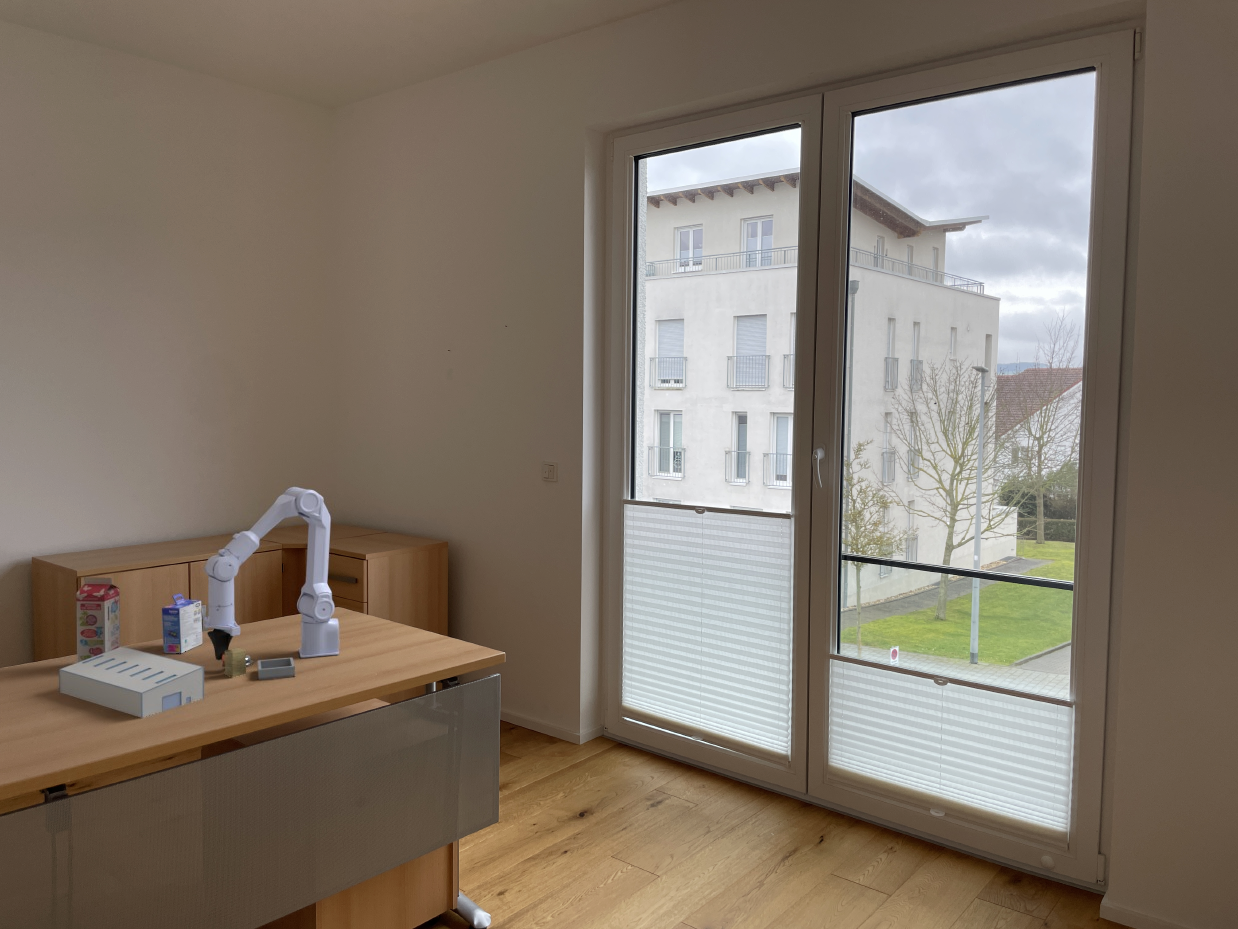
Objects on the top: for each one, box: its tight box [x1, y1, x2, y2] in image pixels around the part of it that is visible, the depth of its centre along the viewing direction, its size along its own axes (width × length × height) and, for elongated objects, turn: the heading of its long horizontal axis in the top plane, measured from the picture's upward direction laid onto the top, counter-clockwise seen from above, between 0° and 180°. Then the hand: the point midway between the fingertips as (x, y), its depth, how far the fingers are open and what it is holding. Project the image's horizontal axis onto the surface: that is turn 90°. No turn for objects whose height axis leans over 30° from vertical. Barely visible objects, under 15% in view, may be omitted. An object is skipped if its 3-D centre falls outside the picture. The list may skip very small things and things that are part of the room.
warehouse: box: [58, 645, 205, 719], centre depth 192 cm, size 30×14×8 cm, turn 61°
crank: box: [221, 653, 251, 668], centre depth 214 cm, size 9×4×4 cm, turn 171°
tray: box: [257, 657, 296, 681], centre depth 210 cm, size 8×8×2 cm
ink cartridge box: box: [161, 593, 203, 655], centre depth 229 cm, size 10×6×14 cm, turn 174°
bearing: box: [246, 659, 254, 667], centre depth 217 cm, size 5×5×1 cm
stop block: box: [224, 647, 247, 678], centre depth 208 cm, size 3×3×6 cm
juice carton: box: [76, 576, 121, 663], centre depth 212 cm, size 7×7×22 cm
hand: (221, 659), depth 211 cm, fingers closed, pressing on crank
